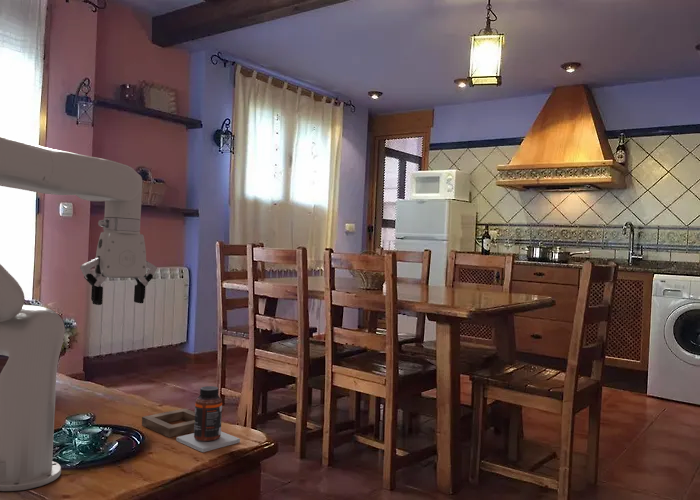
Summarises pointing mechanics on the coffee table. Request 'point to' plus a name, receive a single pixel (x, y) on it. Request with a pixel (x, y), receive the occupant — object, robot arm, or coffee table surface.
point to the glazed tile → (207, 442)
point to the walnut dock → (161, 421)
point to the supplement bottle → (208, 414)
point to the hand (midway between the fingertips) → (118, 303)
